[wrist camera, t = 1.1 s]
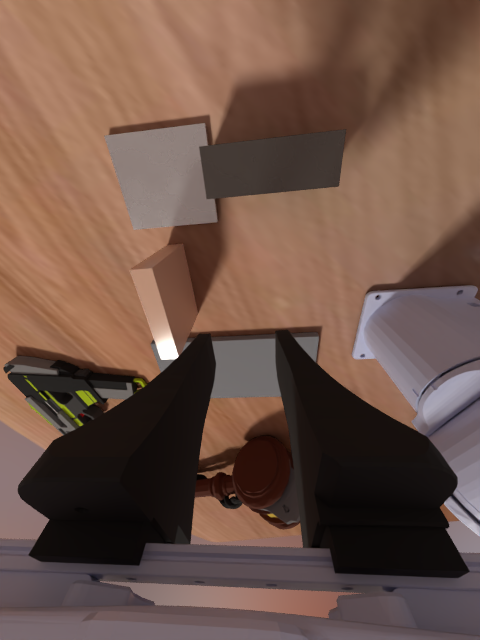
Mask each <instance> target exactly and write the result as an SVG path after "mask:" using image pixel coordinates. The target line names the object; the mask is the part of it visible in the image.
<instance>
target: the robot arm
mask: <svg viewBox="0 0 480 640" xmlns="http://www.w3.org/2000/svg"><path fill="white" fill-rule="evenodd" d="M458 291H459V292H458ZM477 291H478V288H477V287H476V286H473V285H467V286H450V287H433V288H417V289H400V290H383V291H371V292H368V293H367V294H366V296H365V300H364V304H363V309H362V313H361V317H360V322H359V326H358V330H357V334H356V339H355V343H354V347H353V352H352V356H353V358H354V359H375V358H376V359H377V360H378V362H379V363H380V365H381V366H382V367H383V369H384V370H385V371H386V373H387V374H388V375H389V377H390V378H391V379H392V381H393V382H394V383H395V385H396V386H397V387H398V389H399V390H400V391H401V393H402V394H403V395H404V397H405V398H406V399H407V401H408V402H409V403H410V405H411V406H412V407H413V409H414V410H415V411H416V413H417V416H416V417H415V419H413V420H412V423H413V425H414V426H415V427H416V429H417V430H418V431H416V430H414V429H412V428H410V427H408V426H406V425H404V424H402V423H401V422H399V421H397V420H395V419H393V418H391V417H390V416H388V415H386V414H385V413H383V412H381V411H380V410H378V409H376V408H375V407H373V406H371V405H370V404H368V403H367V402H365V401H363V400H362V399H360V398H359V397H358V396H356V395H355V394H353V393H352V392H350V391H349V390H348V389H346V388H345V387H343V386H342V385H341V384H340V383H338V382H337V381H336V380H335V379H333V378H332V377H331V376H330V375H329V374H328V373H326V372H325V371H324V370H323V369H322V368H321V367H320V366H319V365H318V364H317V363H316V362H315V361H314V360H313V359H312V358H311V357H310V356H309V355H308V354H307V353H306V351H305V350H304V349H303V348H302V347H301V346H300V345H299V343H298V342H297V341H296V340H295V338H294V337H293V336H292V334H291V333H290V332H289V331H288V330H277V331H275V362H276V371H277V380H278V384H279V388H280V393H281V397H282V401H283V406H284V410H285V414H286V419H287V424H288V429H289V436H290V443H291V451H292V458H293V466H294V474H295V482H296V490H297V498H298V506H299V515H300V524H301V532H302V541H303V548H292V547H291V548H290V547H258V546H227V545H194V544H190V541H191V530H192V519H193V508H194V498H195V489H196V480H197V471H198V463H199V455H200V448H201V440H202V433H203V428H204V423H205V418H206V414H207V410H208V406H209V402H210V398H211V393H212V389H213V385H214V380H215V371H216V360H215V355H214V349H213V344H212V339H211V334H199V335H198V336H197V337H196V338H195V339H194V340H193V341H192V342H191V343H190V344H189V345H188V347H187V348H186V349H185V350H184V351H183V352H182V353H181V354H180V355H179V356H178V357H177V358H176V359H175V360H174V361H173V362H172V363H171V364H170V365H169V366H168V367H167V368H166V369H165V370H164V371H163V372H161V373H160V374H159V375H158V376H157V377H156V378H154V379H153V380H152V381H151V382H149V383H148V384H147V385H146V386H144V387H143V388H142V389H140V390H139V391H137V392H136V393H135V394H133V395H132V396H130V397H129V398H127V399H126V400H124V401H123V402H122V403H120V404H118V405H117V406H115V407H114V408H112V409H110V410H109V411H107V412H106V413H104V414H102V415H100V416H99V417H97V418H95V419H93V420H92V421H90V422H88V423H86V424H84V425H82V426H81V427H79V428H77V429H75V430H73V431H71V432H69V433H67V434H65V435H63V436H61V437H59V438H57V439H55V440H54V441H53V442H52V443H51V444H50V445H49V447H48V448H47V449H46V451H45V452H44V453H43V454H42V456H41V457H40V458H39V459H38V461H37V462H36V463H35V465H34V466H33V467H32V468H31V470H30V471H29V472H28V473H27V475H26V476H25V477H24V479H23V480H22V481H21V483H20V484H19V486H18V494H19V495H20V497H21V499H22V500H24V501H25V502H26V503H27V504H28V505H30V506H32V507H33V508H34V509H36V510H37V511H38V512H40V513H41V514H43V515H44V516H45V517H47V518H48V519H50V520H49V522H48V523H47V525H46V526H45V528H44V530H43V532H42V533H41V535H40V536H39V538H38V540H31V539H30V540H29V539H28V540H27V539H0V640H480V553H459V552H458V550H457V548H456V546H455V545H454V543H453V541H452V539H451V538H450V536H449V534H448V533H447V531H446V529H445V528H448V527H449V523H448V521H447V519H446V518H445V516H444V514H443V513H442V511H441V509H440V506H441V505H442V504H443V503H444V504H445V506H446V507H447V508H448V509H449V510H450V511H451V512H452V513H453V514H454V515H455V516H456V517H457V518H458V519H459V520H460V521H461V522H462V523H463V524H464V525H466V526H467V527H468V528H469V529H470V530H472V531H473V532H475V533H476V534H477V535H478V536H479V537H480V300H478V299H476V298H474V297H475V295H476V293H477ZM457 292H458V293H457ZM377 295H379V297H377V298H375V297H376V296H377ZM361 354H363V355H361ZM100 581H114V582H115V581H117V582H136V583H158V584H180V585H201V586H223V587H225V586H226V587H245V588H246V587H247V588H268V589H290V590H311V591H332V592H354V593H355V592H356V593H362V594H352V595H342V596H338V599H337V605H338V607H336V608H334V609H332V610H330V612H329V614H328V615H329V618H321V617H312V616H303V615H295V614H285V613H275V612H265V611H253V610H240V609H227V608H210V607H191V606H158V605H157V606H156V605H155V603H154V602H153V601H150V600H147V599H145V598H142V597H140V596H138V595H137V594H135V593H133V591H132V590H131V589H130V587H126V586H119V585H113V584H108V583H102V582H100Z"/></svg>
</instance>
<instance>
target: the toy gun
mask: <svg viewBox="0 0 480 640" xmlns="http://www.w3.org/2000/svg"><path fill="white" fill-rule="evenodd" d="M4 371H5V373H7V372H9V371H10V372H11V373H10V374H8V379H9V380H10V381H11V382H12V383H13V384H14V385H15V386H16V387H17V388H18V389H19V390H20V391H21V392H22V393H23V394H24V395H25V396H26V398H25V400H26V401H27V402H28V403H29V405H30V407H31V408H32V409H34V410H35V411H36V413H39V414H40V415H41V416H42V417H43V418H44V419H45V420H46V421H47V422H48V423H49V424H51V425H53V426H54V427H55V428H56V429H57V430H58V431H60V432H61V433H62V434H63V435H65V434H67V433H69V432H71V431H73V430H75V429H77V428H79V427H81V426H82V425H84V424H86V423H88V422H90V421H92V420H93V419H95V418H97V417H99V416H100V415H102V414H104V413H103V411H102V410H101V409H100V408H99V407H97V406H95V405H93V404H95V403H97V402H100V403H101V404H105V402H106V401H107V399H108V398H112V399H127V398H129V397H130V396H132V395H133V394H135V393H136V392H137V391H139V390H140V389H139V390H137V384H136V382H140V384H141V385H142V387H144V386H146V385H147V384H146V383H145V381H144V380H143V379H141V378H135V377H132V376H122V375H112V374H102V373H93V372H92V371H90V370H89V369H84V370H81V369H80V368H79V367H77V366H75V365H72V364H70V363H67V362H65V361H60V360H58V361H51V360H46V359H41V358H36V357H28V356H17V357H16V358H14V359H12V360H11V361H9V362H8V363H6V364H5V367H4ZM68 393H70V394H71V395H69V394H68Z"/></svg>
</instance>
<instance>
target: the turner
mask: <svg viewBox="0 0 480 640" xmlns="http://www.w3.org/2000/svg"><path fill="white" fill-rule="evenodd" d="M345 134H346V129H344V130H336V131H327V132H319V133H310V134H302V135H293V136H285V137H276V138H268V139H259V140H251V141H242V142H234V143H225V144H217V145H209V143H208V135H207V127H206V124H205V123H201V124H193V125H185V126H177V127H169V128H161V129H154V130H146V131H138V132H130V133H122V134H114V135H106V136H104V137H105V140H106V143H107V146H108V149H109V152H110V156H111V159H112V162H113V165H114V168H115V172H116V175H117V178H118V181H119V184H120V187H121V191H122V194H123V197H124V200H125V203H126V206H127V210H128V213H129V216H130V219H131V222H132V226H133V229H134V230H136V229H147V228H158V227H169V226H181V225H192V224H203V223H214V222H218V214H217V206H216V198H226V197H236V196H246V195H256V194H267V193H277V192H287V191H297V190H307V189H318V188H328V187H338V186H339V181H340V173H341V165H342V157H343V149H344V142H345Z"/></svg>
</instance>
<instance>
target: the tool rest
mask: <svg viewBox="0 0 480 640" xmlns="http://www.w3.org/2000/svg"><path fill="white" fill-rule="evenodd" d="M291 334H292V336H293V337H294V338H295V340H296V341H297V342H298V343H299V345H300V346H301V347H302V348H303V349H304V350H305V351H306V353H307V354H308V355H309V356H310V357H311V358H312V359H313V360H314V361H315V362H316V357H317V349H318V341H319V335H318V333H317V332H309V333H291ZM194 339H195V338H188V339H187V341H186V343H185V346H184V348H183V351H184V350H185V349H186V348H187V347H188V345H189V344H190V343H191V342H192V341H193V340H194ZM211 339H212V344H213V349H214V355H215V360H216V371H215V380H214V385H213V389H212V393H211V398H235V397H277V396H281V393H280V388H279V384H278V380H277V371H276V362H275V334H266V335H245V336H223V337H211ZM151 347H152V349H153V352H154V355H155V357H156V360H157V363H158V366H159V368H160V371H161V372H163V371H164V370H165V369H166V368H167V367H168V366H169V365H170V364H171V363H172V362H173V361H174V360H175V359H161V357H160V354H159V352H158V349H157V346H156V343H155V340H153V341H152V343H151ZM183 351H182V352H183Z"/></svg>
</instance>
